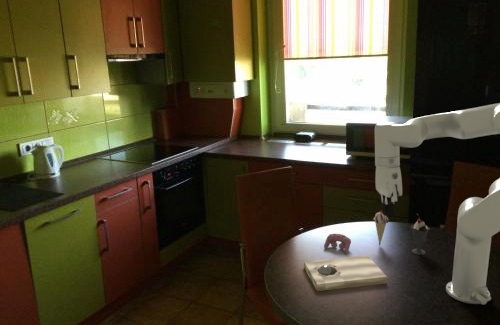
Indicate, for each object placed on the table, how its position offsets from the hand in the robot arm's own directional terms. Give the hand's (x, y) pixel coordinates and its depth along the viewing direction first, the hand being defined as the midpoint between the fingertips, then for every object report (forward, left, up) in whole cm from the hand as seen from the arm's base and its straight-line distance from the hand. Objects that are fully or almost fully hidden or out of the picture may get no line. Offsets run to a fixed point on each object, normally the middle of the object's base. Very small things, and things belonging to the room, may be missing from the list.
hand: (387, 214), depth 145 cm
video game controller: (+24, +8, -23) cm, 35 cm away
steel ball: (+4, +20, -21) cm, 29 cm away
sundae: (+15, -21, -23) cm, 35 cm away
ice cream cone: (+23, -9, -23) cm, 34 cm away
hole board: (+4, +13, -23) cm, 27 cm away
